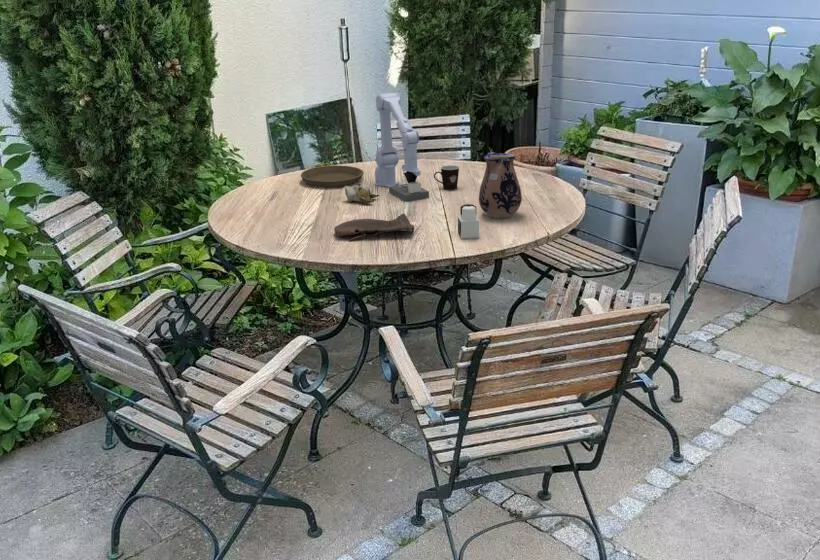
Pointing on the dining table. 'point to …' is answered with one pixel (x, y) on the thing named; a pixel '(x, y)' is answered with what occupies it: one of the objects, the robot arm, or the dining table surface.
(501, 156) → the ceramic pitcher
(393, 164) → the robot arm
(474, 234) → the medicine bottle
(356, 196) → the ceramic sculpture
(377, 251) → the dining table surface
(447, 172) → the coffee mug
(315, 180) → the plant saucer
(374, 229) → the glove
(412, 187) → the fader
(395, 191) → the console
